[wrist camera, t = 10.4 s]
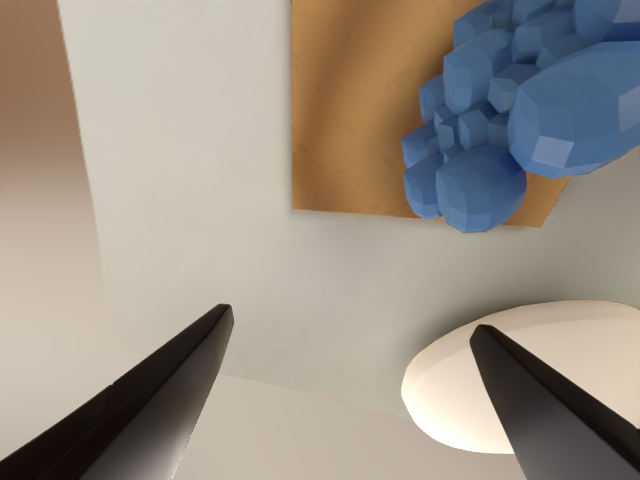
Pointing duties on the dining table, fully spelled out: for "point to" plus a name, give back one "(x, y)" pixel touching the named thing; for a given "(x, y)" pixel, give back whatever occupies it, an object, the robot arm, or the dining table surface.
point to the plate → (544, 342)
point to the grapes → (523, 105)
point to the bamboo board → (372, 103)
